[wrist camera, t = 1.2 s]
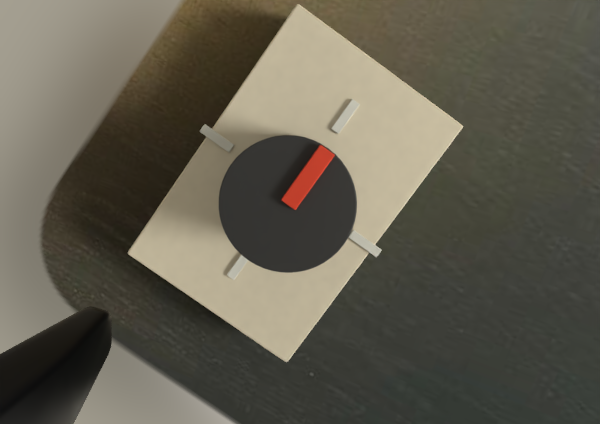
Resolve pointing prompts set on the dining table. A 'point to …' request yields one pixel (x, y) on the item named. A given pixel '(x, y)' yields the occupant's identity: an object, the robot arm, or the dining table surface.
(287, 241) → the timer knob
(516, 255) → the dining table surface
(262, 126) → the timer panel
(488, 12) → the dining table surface
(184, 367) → the dining table surface
